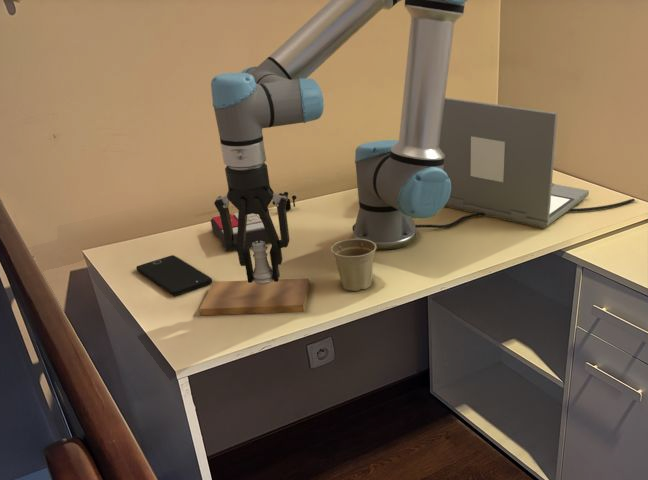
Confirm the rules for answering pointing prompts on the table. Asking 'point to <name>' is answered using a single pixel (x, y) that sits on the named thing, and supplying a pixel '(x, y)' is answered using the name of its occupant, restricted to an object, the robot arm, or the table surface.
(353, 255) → the flower pot
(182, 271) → the cell phone
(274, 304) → the board
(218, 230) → the calculator
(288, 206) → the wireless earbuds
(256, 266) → the rook chess piece
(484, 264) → the table surface
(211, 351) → the table surface
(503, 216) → the laptop
